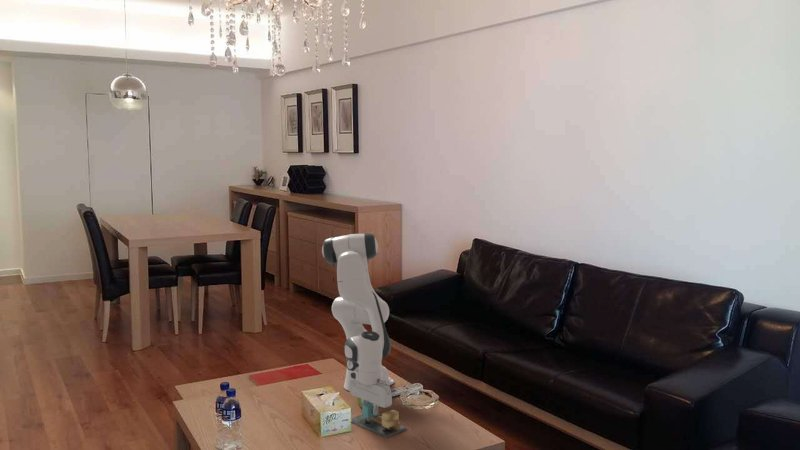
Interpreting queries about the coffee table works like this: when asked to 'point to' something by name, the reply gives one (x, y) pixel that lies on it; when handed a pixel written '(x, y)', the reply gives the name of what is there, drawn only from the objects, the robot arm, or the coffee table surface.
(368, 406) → the block
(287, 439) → the coffee table surface
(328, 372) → the coffee table surface
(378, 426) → the steel plate
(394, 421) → the wooden mallet
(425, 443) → the coffee table surface
